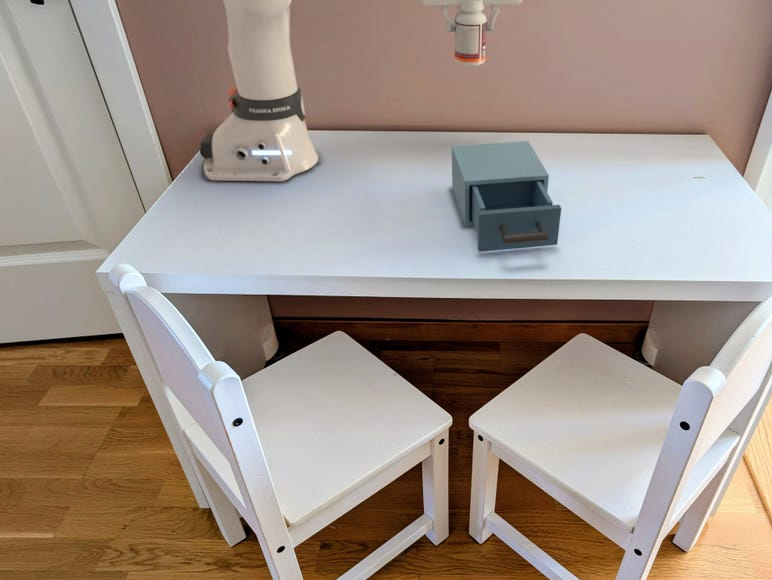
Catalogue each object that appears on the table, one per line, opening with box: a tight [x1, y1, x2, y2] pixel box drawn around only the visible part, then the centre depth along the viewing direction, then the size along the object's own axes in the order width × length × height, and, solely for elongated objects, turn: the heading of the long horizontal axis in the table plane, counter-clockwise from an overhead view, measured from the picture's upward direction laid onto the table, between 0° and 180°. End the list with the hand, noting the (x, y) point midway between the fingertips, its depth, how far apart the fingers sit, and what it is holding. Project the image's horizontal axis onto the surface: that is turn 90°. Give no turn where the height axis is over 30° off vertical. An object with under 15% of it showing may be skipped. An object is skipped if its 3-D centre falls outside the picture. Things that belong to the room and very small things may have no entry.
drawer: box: [469, 180, 562, 253], centre depth 102 cm, size 18×13×7 cm
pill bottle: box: [454, 0, 487, 67], centre depth 119 cm, size 6×6×11 cm
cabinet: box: [451, 140, 550, 228], centre depth 111 cm, size 15×15×9 cm
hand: (470, 30), depth 119 cm, fingers closed on pill bottle, 6 cm apart
